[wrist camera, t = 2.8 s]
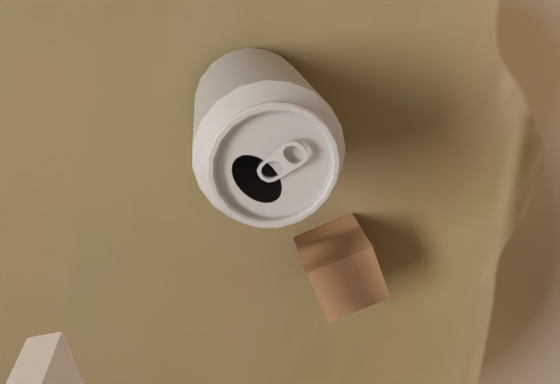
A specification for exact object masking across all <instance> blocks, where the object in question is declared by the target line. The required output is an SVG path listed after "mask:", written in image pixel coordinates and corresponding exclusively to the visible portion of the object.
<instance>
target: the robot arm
mask: <svg viewBox="0 0 560 384" xmlns="http://www.w3.org/2000/svg"><path fill="white" fill-rule="evenodd" d="M6 384H84V383H83V380H82V378H81V376H80V373H79V371H78V368H77V366H76V364H75V361H74V359H73V357H72V354H71V352H70V350H69V347H68V345H67V343H66V340H65V338H64V335H63V333H62V332H57V333H52V334H46V335H41V336H35V337H29V338H27V340H26V342H25V344H24V346H23V348H22V351H21V353H20V355H19V357H18V359H17V361H16V363H15V365H14V368H13V370H12V372H11V374H10V376H9V378H8V380H7V382H6Z"/></svg>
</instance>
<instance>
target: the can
mask: <svg viewBox="0 0 560 384" xmlns="http://www.w3.org/2000/svg"><path fill="white" fill-rule="evenodd" d="M345 150H346V148H345V142H344V136H343V130H342V126H341V124H340V123H339V121H338V119H337V117H336V115H335V114H334V112H333V110H332V108H331V107H330V105H329V104H328V103H327V102H326V101H325V100H324V99H323V98H322V97H321V96H320V95H319V94H318V93H317V91H316V90H315V89H314V88H313V87H312V86H311V85H310V84H309V83H308V82H307V81H306V80H305V79H304V78H303V76H302V75H301V74H300V73H299V72H298V71H297V70H296V69H295V68H294V67H293V66H292V65H291V64H290V63H288V62H287V61H286V60H285V59H284V58H283V57H282V56H279V55H277V54H275V53H272V52H270V51H267V50H265V49H253V48H244V49H241V50H237V51H233V52H229V53H227V54H225V55H224V56H222V57H221V58H219V59H218V60H216V61H215V62H213V63H212V64H211V66H210V67H209V68H208V69H207V71H206V72H205V73H204V74H203V76H202V77H201V79H200V82H199V85H198V88H197V91H196V93H195V107H194V127H193V161H192V167H193V170H194V173H195V176H196V179H197V182H198V185H199V188H200V189H201V191H202V192H203V193H204V194H205V196H206V197H207V198H208V200H209V201H210V202H211V203H212V205H213V206H214V207H216V208H217V209H219V210H220V211H222V212H223V213H225V214H226V215H228V216H229V217H231V218H233V219H236V220H237V221H239V222H240V223H244V224H247V225H251V226H254V227H257V228H281V227H285V226H289V225H292V224H296V223H299V222H301V221H302V220H304V219H306V218H307V217H309V216H311V215H312V214H314V213H316V212H317V211H318V209H319V208H320V207H321V206H322V205H323V204H324V203H325V202H326V201H327V200H328V199H329V198H330V196H331V194H332V192H333V190H334V188H335V186H336V184H337V182H338V178H339V176H340V174H341V172H342V169H343V163H344V156H345Z"/></svg>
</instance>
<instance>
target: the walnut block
mask: <svg viewBox="0 0 560 384" xmlns="http://www.w3.org/2000/svg"><path fill="white" fill-rule="evenodd" d="M294 240H295V243H296V246H297V249H298V252H299V254H300V257H301V260H302V263H303V266H304V269H305V272H306V274H307V277H308V279H309V281H310V283H311V286H312V288H313V290H314V292H315V294H316V297H317V299H318V301H319V303H320V305H321V308H322V310H323V312H324V314H325V316H326V319H327V321H328V323H330V322H332V321H335V320H337V319H339V318H342V317H344V316H347V315H349V314H351V313H354V312H356V311H359V310H361V309H364V308H366V307H368V306H371V305H373V304H376V303H378V302H381V301H383V300H385V299H388V298H390V294H389V292H388V289H387V286H386V283H385V280H384V277H383V274H382V272H381V269H380V266H379V263H378V260H377V257H376V255H375V252H374V249H373V246H372V245H371V243H370V241H369V240H368V238H367V236H366V235H365V233H364V232H363V230H362V228H361V227H360V225H359V224H358V222H357V220H356V219H355V217H354V215H353V214H352V213H351V214H348V215H346V216H343V217H341V218H339V219H336V220H334V221H332V222H329V223H327V224H324V225H322V226H320V227H317V228H315V229H312V230H310V231H308V232H305V233H303V234H300V235H298V236H296V237H294Z"/></svg>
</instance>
